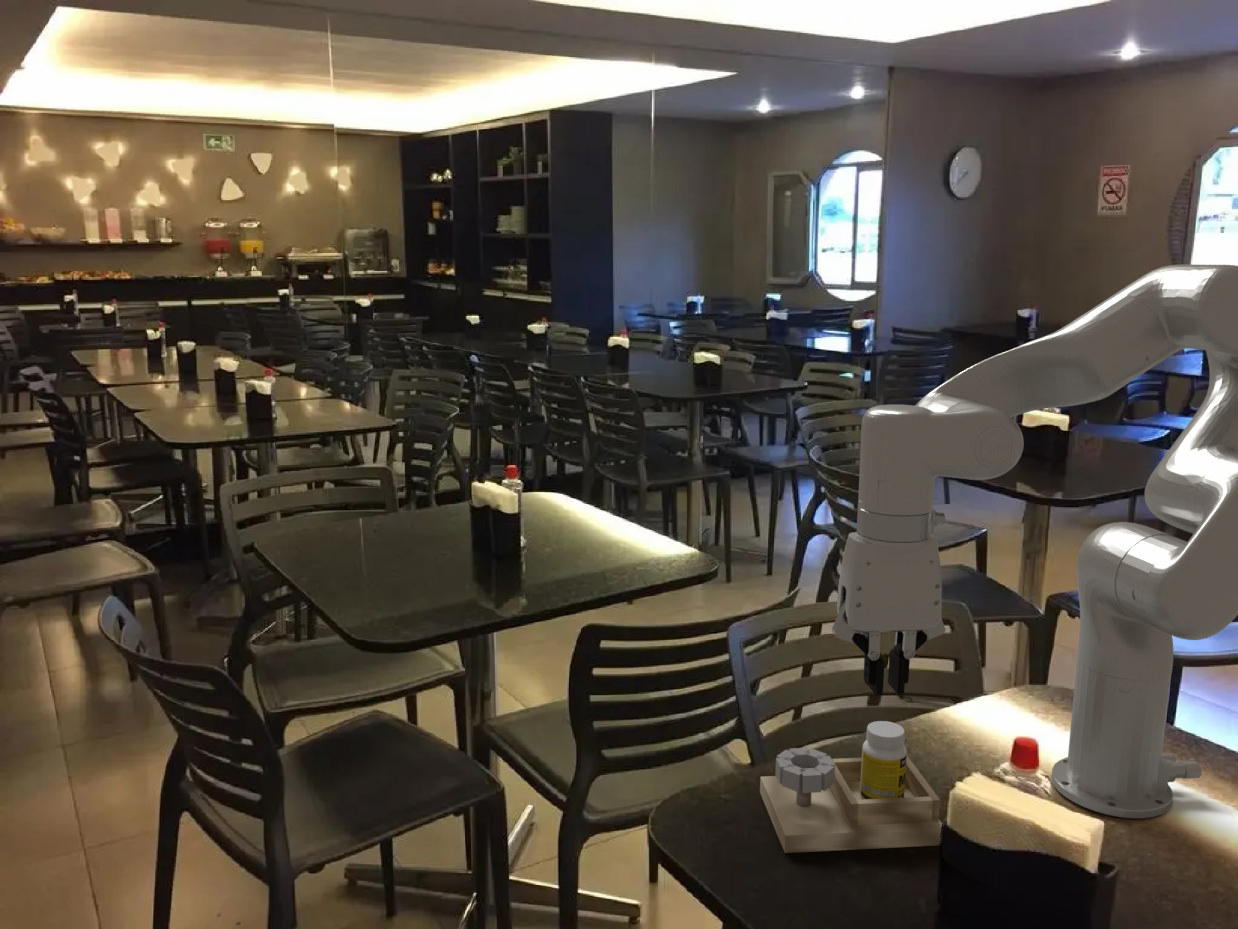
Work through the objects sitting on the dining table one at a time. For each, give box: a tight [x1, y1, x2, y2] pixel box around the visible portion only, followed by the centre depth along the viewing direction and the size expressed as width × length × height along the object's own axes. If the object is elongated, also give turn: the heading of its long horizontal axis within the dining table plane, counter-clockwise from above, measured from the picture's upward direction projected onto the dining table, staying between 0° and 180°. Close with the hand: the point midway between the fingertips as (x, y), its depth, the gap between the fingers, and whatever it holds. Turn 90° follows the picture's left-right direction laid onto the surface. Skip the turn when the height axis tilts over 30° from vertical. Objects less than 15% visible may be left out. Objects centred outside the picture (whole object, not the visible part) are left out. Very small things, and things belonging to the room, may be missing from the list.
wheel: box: [774, 747, 835, 793], centre depth 108 cm, size 6×6×2 cm
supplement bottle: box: [860, 720, 908, 800], centre depth 108 cm, size 5×5×8 cm
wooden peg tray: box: [759, 755, 943, 854], centre depth 109 cm, size 17×12×6 cm
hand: (885, 688), depth 107 cm, fingers closed
